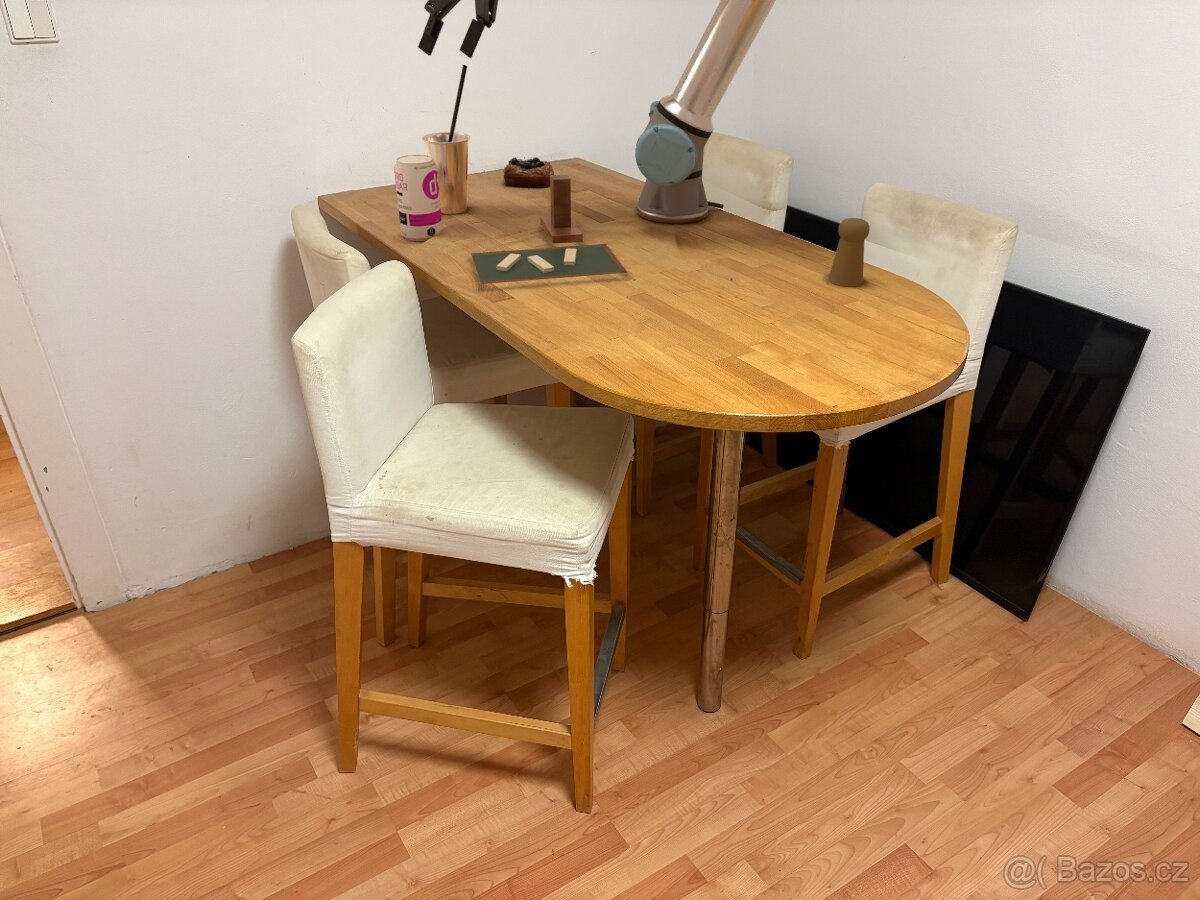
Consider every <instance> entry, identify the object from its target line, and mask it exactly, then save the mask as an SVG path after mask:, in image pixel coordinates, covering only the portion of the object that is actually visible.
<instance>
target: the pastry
mask: <svg viewBox="0 0 1200 900" xmlns="http://www.w3.org/2000/svg"><path fill="white" fill-rule="evenodd" d="M553 168H554V167H553V166H552V165H551V161H547V160H540V158H539V157H537V156H535V157H532V158H528V159H525V160H524V159H521V158H518V157H512V158H511V159H510V160H509V161H508V164H506V166H504V168H503V180H504V186H507V187H514V188H527V189H530V188H531V189H544V188H548V187H550V175H555V171H554V169H553Z"/></svg>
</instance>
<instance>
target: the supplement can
mask: <svg viewBox="0 0 1200 900" xmlns="http://www.w3.org/2000/svg"><path fill="white" fill-rule="evenodd" d="M395 160H396V161H395V164H394V166H393V172H394V180H395V182H394V183H395V190H396V199H397V207H398V216H399V225H400V227H399V228H400V233H401V235H402V236H403V237H404V238H405V239H406V240H408V241H413V242H427V241H429V240H430V239H432V238H433V237H434V236H436V235H437V234H440V233H441V232H442V231H443V230H444V228H443V219H442V218H443V217H442V213H441V205H440V194H439V182H438V171H437V165H436V164H435V162H434V160H433V157H431V156H427V154H406V155H401V156H399V157H397V158H395Z"/></svg>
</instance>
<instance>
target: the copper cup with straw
mask: <svg viewBox="0 0 1200 900" xmlns="http://www.w3.org/2000/svg"><path fill="white" fill-rule="evenodd" d="M467 71H468V65H466V64H463V65H462V67H461V73H460V78H459V83H458V88H457V92H456V98H455V104H454V109H453V113H452V117H451V118H452V119H451V124H450V129H449V131H441V132H432V133H427V134H424V135H423V136H422V137H421V140H422V141H423V142H424V146H425V152H426V155H427V156H431V157H433V160H434V162H435V164H436V165H437V171H438V182H439V194H440V205H441V214H443V215H444V214H445V215H457V214H462V213H465V212H466V211H467V210H468V207H467V206H468V205H467V204H468V180H469V179H468V177H469V174H468V173H469V141H470V139H471V135H470V134H468V133H464V132H457V131H455V130H456V125H457V121H458V116H459V110H460V105H461V101H462V95H463V90H464V86H465V82H466V81H465V80H466V75H467Z"/></svg>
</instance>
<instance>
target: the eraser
mask: <svg viewBox="0 0 1200 900" xmlns="http://www.w3.org/2000/svg"><path fill="white" fill-rule="evenodd" d="M571 190H572V183H571V177H570V176H569V175H568V174H554V175H550V186H549V194H550V195H549V198H550V215H541V216H539V219H540V221H539V222H540V224H539V225H540V226H541V227H542V229H543V230H544V232H545V233H546V235H547V238H548V239H549V240H550V242H551V244H564V243H565V244H566V243H578V242H583V241H584V240H583V239H584V236H583V232H582V231H581V230H580V228H579V226H578V225H577V224H576V222H575V221H574V219H573V218H572V214H571V213H572V196H571V195H572V191H571Z"/></svg>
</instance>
